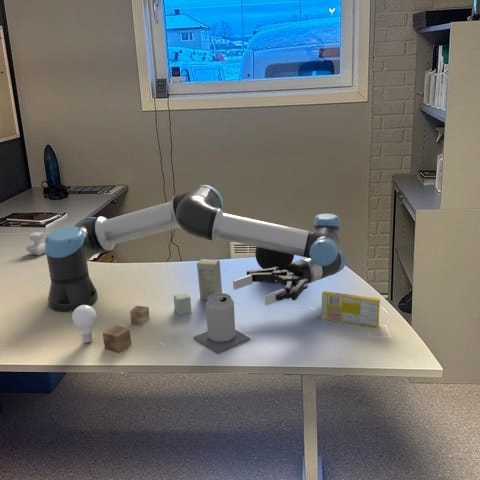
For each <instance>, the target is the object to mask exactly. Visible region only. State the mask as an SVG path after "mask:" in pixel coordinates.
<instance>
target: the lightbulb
mask: <svg viewBox="0 0 480 480" xmlns="http://www.w3.org/2000/svg"><path fill="white" fill-rule="evenodd" d="M71 319H72V323H74V326H76V327H77V328H78V329H79V332H80V333H81V337H82V342H83V343H86V344H88V343H91V342H92V341H93V340H94V338H93V327H94V325H95V323H96V321H97V313H96V310H95V308H94V307H92V305H91V306H89V305H81V306H79V307H77V308H76V309H75V310H74V311H72V314H71Z"/></svg>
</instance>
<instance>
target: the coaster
mask: <svg viewBox="0 0 480 480" xmlns="http://www.w3.org/2000/svg"><path fill="white" fill-rule="evenodd" d="M193 340H195V341H196V342H198V343H200V344H201V345H203V346H204V347H206V348H207V349H209V350H211V351H213V352H214V353H215V354H217V355H219V354H222V353H223V352H226V351H228V350H230V349H233V348H235V347H238V346H239V344H240V345H242V344H244V343H246V342H248V340H249V341H250V340H251V337H249V336H247V335H246V334H245V333H242V332H240V331H239V330H237V329H235V336H234V337H233V338H232V339H231V340H230V341H227V342H223V343H219V342H214V341H213V340H211V339H210V338H209V337H208V330H207V331H205V332H202V333H199V334H197V335H195V336H193Z"/></svg>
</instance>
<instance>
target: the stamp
mask: <svg viewBox="0 0 480 480" xmlns="http://www.w3.org/2000/svg"><path fill="white" fill-rule="evenodd" d="M28 237H29V240H30V241H33V243H31V244H29V245H27V246H26V247H25V249H26V251H27V252H28V253H30V255H34V256H41V255H43V254H45V253H46V251H45V242H43V241H41V240H43V239H45V238H44V237H45V232H37V231H35V232H32V233H31V234H29V236H28Z"/></svg>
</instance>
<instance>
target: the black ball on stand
mask: <svg viewBox="0 0 480 480" xmlns="http://www.w3.org/2000/svg"><path fill="white" fill-rule="evenodd" d="M254 252H255V255H254V256H255V259H256V262H257V264H258V266H259V267H260V269H268V268H273V267H278V270H279V271H281V270H286V268H287V267H288V265H289V264H291V263H293V261H294V259H295V255H292V254H288V253H283V252H279V251H274V250H269V249H265V248H260V247H256V246H255V251H254ZM275 280H277V276H276V277H275ZM267 283H269V284H270V283H271V284H274V283H273V282H267Z"/></svg>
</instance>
